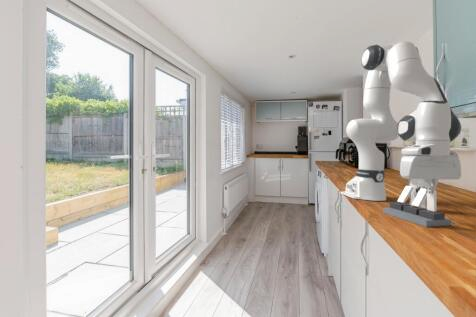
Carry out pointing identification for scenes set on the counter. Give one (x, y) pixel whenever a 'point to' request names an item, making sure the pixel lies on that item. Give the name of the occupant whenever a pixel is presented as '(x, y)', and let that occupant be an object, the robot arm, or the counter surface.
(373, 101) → the robot arm
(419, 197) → the breaker
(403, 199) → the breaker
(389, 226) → the counter surface
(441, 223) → the panel
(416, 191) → the beer glass
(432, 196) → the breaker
